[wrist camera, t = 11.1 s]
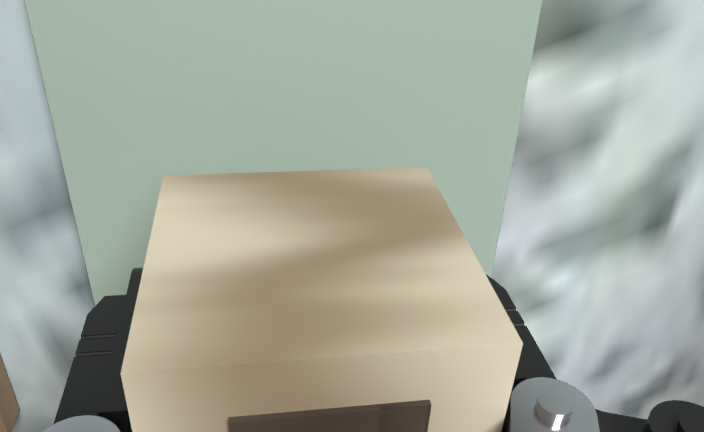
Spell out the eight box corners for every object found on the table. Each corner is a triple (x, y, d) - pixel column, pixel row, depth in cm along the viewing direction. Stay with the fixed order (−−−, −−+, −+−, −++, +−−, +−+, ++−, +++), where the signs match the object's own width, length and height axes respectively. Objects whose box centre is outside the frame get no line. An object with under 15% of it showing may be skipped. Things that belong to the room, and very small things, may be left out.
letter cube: (426, 167, 12) (525, 348, 8) (404, 355, 15) (471, 568, 11) (163, 175, 12) (118, 379, 7) (188, 371, 14) (166, 607, 10)
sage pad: (536, -22, 14) (545, -17, 14) (473, 338, 20) (477, 349, 20) (26, -25, 13) (19, -20, 13) (114, 365, 19) (111, 378, 18)
